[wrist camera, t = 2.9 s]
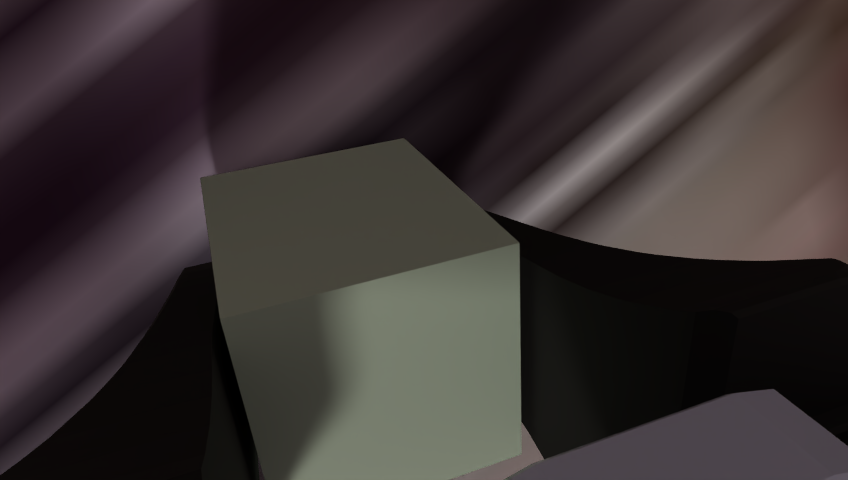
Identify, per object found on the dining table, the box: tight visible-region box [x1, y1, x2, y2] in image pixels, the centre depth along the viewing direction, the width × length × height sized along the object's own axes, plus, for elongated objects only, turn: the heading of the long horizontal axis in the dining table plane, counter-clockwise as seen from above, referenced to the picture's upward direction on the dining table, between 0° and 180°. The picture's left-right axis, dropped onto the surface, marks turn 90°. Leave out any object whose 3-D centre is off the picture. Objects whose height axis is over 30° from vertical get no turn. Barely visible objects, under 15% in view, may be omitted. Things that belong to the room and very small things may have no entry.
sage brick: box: [200, 138, 522, 480], centre depth 11 cm, size 4×4×5 cm
